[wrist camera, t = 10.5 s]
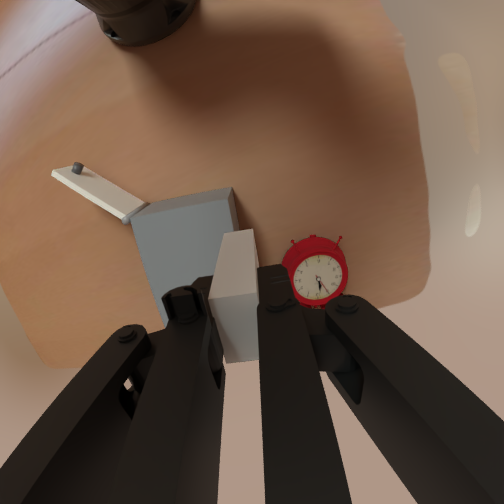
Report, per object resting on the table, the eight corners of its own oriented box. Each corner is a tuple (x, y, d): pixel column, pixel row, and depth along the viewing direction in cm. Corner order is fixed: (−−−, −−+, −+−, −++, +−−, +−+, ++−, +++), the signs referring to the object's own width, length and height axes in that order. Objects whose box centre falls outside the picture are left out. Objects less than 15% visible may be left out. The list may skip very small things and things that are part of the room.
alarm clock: (352, 233, 39) (354, 331, 41) (340, 230, 45) (343, 316, 47) (280, 240, 39) (288, 340, 41) (277, 236, 45) (284, 324, 47)
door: (154, 197, 40) (133, 211, 32) (148, 210, 40) (127, 226, 32) (84, 156, 37) (53, 162, 29) (79, 168, 37) (48, 176, 30)
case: (152, 202, 40) (126, 220, 31) (231, 187, 40) (226, 200, 30) (184, 316, 47) (172, 355, 38) (254, 308, 47) (255, 347, 38)
